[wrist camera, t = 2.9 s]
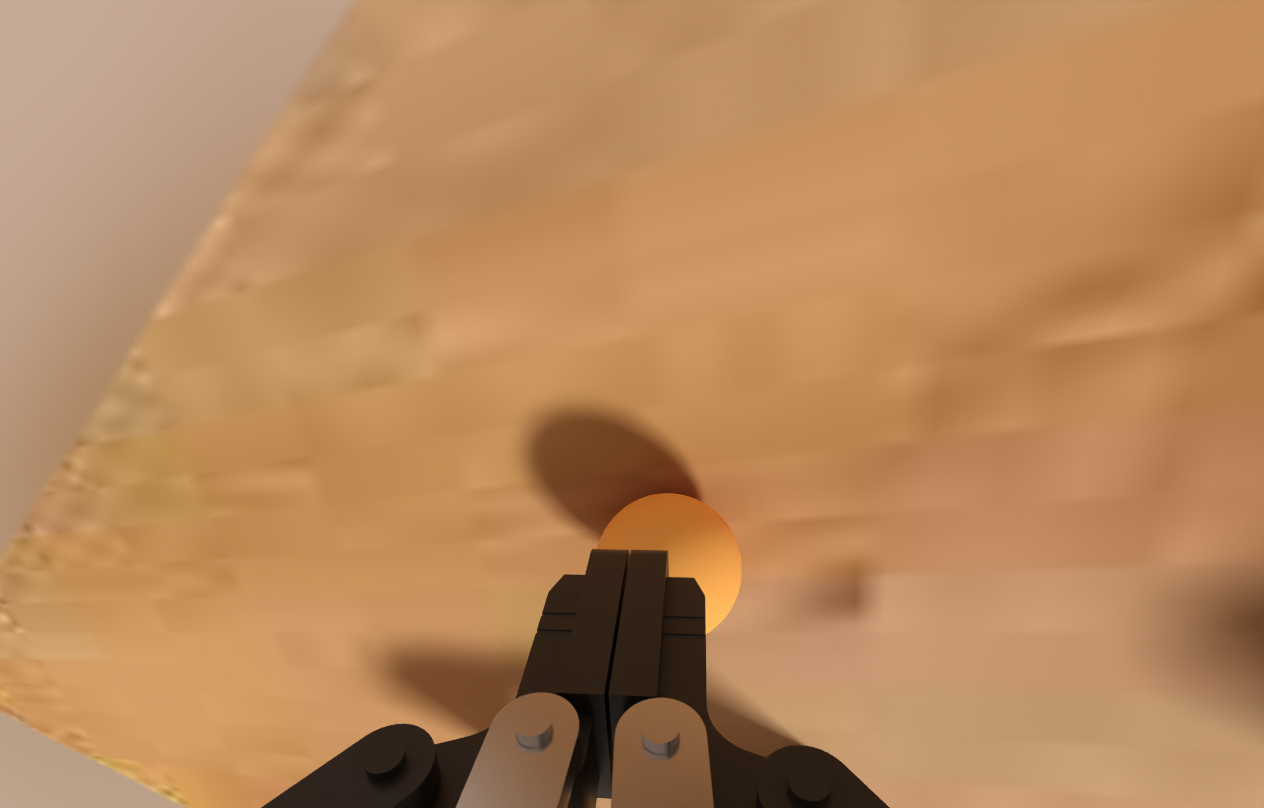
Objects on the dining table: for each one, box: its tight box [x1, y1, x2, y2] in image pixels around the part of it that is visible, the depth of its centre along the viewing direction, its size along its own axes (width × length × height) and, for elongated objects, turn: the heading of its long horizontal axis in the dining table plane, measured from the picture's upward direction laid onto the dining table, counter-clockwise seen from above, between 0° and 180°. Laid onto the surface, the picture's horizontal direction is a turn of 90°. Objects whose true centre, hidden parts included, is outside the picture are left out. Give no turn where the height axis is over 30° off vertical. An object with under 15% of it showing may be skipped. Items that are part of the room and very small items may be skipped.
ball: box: [597, 493, 742, 634], centre depth 28 cm, size 6×6×6 cm
